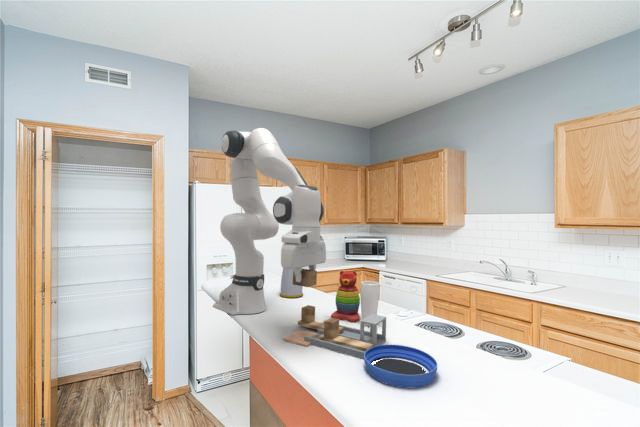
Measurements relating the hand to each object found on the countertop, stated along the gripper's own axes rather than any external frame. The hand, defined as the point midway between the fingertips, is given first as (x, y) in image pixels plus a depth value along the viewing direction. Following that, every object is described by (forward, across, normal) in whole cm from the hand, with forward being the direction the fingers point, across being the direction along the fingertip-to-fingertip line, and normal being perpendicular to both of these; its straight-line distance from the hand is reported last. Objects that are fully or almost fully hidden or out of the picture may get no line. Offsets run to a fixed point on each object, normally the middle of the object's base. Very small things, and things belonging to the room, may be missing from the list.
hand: (304, 280), depth 103 cm
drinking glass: (+19, -26, +11) cm, 34 cm away
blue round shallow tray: (+19, +3, +32) cm, 37 cm away
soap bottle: (+18, -42, -36) cm, 59 cm away
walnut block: (+1, 0, 0) cm, 1 cm away
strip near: (+18, -2, +14) cm, 23 cm away
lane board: (+18, -6, +12) cm, 23 cm away
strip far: (+18, -10, 0) cm, 21 cm away
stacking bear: (+19, -28, +1) cm, 34 cm away
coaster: (+18, 0, 0) cm, 18 cm away
